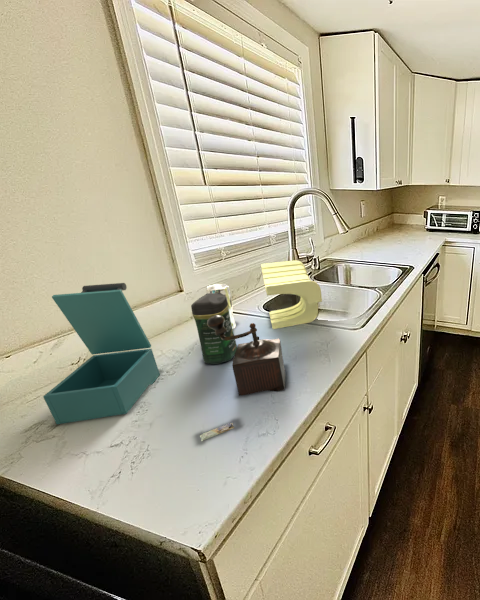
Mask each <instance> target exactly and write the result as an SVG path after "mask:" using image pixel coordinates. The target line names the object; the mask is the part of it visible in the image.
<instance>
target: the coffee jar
mask: <svg viewBox="0 0 480 600" xmlns="http://www.w3.org/2000/svg"><path fill="white" fill-rule="evenodd" d="M190 305H191V306H190V308H191V313H192V317H193V320H194V322H195V326H196V330H197V334H198V339H199V344H200V350H201V355H202V359H203V362H204V363H206V364H211V365H219V364H222V363H225V362H229V361H231V360H233V358H234V355H235V352H236V350H237V346H238V344H237V342H236V339H234V340H228V341H225V340H222V339H221V337H220V335H215V330H214V329H212V328H210V327H208V325H207V320H208V319H209V318H210V317H212V316H214V315H221V316H223V317H224V319H225V322H224V327H225V328H226V329H227V331H226V333H225V334H224V335H225V336H226V337H231V336H235V334H234V333H235V332H234V329H232V325H231V320H230V315H229V307H228V302H227V298H226V296H225V295H223V294H222V293H207V292H206V293H205V294H204V295H202V296H201V297H199V298H197V300H195V301H194V302H193V303H192V304H190Z"/></svg>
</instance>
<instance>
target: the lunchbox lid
mask: <svg viewBox="0 0 480 600" xmlns="http://www.w3.org/2000/svg"><path fill="white" fill-rule="evenodd" d="M81 290H82V291H81V292H74V293H73V292H72V293H60V294H59V293H58V294H53V295H52V296H51V298H52V300H53V301H54V303H55V304H56V306H57V307H58V309H59V310H60V311H61V313H62V314H63V316H64V317H65V318H66V320H67V321H68V323H69V324H70V326H71V327H72V328H73V330H74V331H75V332H76V334H77V336H78V337H79V338H80V339H81V341H82V343H83V344H84V346H85V347H86V348H87V350H88V352H90V354H91V355H92V356H93V355H100V354H109V353H118V352H126V351H135V350H143V349H152V344H151V342H150V341H149V338H148V336H147V335H146V332H145V331H144V329H143V327H142V325H141V323H140V322H139V320H138V318H137V316H136V314H135V312H134V310H133V309H132V307H131V305H130V303H129V302H128V300H127V297H126V295H125V294H124V292H123V291H126V290H127V284H126V283H125V282H117V283H103V284H90V285H83V286H82V287H81Z"/></svg>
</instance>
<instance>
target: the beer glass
mask: <svg viewBox="0 0 480 600" xmlns="http://www.w3.org/2000/svg"><path fill="white" fill-rule="evenodd" d="M205 290H206V294H207V293H222V294H223V295H225V296H226V298H227V302H228V307H229V315H230V320H231V325H232V329H233V330H234V329H236V328H237V324H236V322H235V319H234V313H233V309H234V308H233V298H232V297H233V296H232V292H231V289H230V286H229V284H227V283H215V284H211V285H209V286H207V287H206V288H205Z"/></svg>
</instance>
